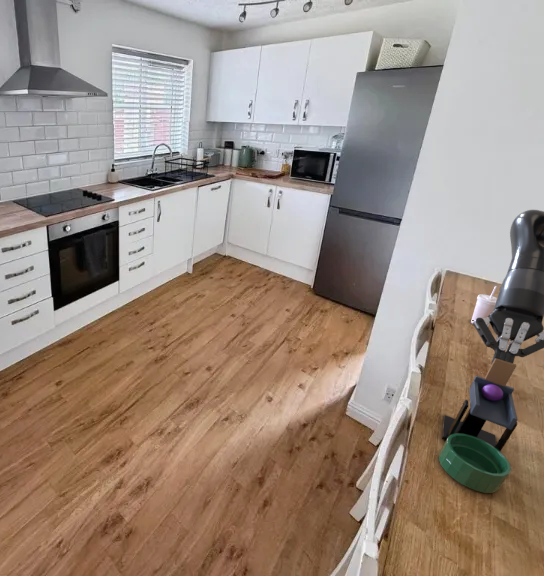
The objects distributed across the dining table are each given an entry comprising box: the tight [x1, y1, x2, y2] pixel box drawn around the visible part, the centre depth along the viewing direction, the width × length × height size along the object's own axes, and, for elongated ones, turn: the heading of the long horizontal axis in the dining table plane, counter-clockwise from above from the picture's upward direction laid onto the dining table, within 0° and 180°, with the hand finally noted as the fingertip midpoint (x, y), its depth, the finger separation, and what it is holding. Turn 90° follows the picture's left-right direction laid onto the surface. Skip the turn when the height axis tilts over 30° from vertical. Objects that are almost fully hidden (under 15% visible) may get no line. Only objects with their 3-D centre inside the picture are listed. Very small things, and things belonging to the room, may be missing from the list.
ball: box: [482, 384, 503, 401], centre depth 73 cm, size 3×3×3 cm
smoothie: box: [470, 285, 498, 325], centre depth 121 cm, size 6×6×14 cm
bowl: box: [438, 433, 512, 494], centre depth 69 cm, size 9×9×5 cm
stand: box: [441, 399, 518, 452], centre depth 75 cm, size 9×9×10 cm
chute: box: [468, 358, 519, 430], centre depth 70 cm, size 10×6×8 cm, turn 143°
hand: (500, 370), depth 74 cm, fingers closed
